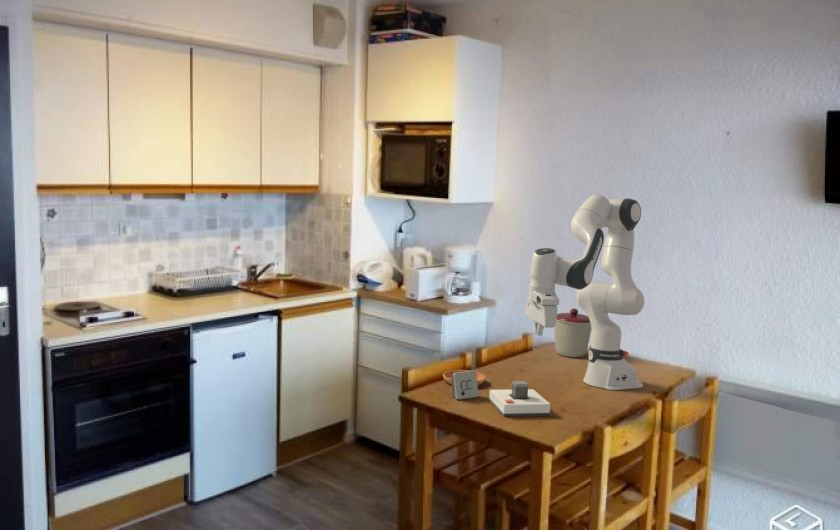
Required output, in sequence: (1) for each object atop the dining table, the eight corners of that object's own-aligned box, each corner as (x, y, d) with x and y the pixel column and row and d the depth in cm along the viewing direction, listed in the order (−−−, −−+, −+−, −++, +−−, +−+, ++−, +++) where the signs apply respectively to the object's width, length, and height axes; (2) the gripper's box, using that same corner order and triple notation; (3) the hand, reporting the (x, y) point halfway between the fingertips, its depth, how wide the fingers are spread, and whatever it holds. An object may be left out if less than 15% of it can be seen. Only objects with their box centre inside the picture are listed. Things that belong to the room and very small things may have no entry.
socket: (532, 400, 258) (533, 387, 257) (549, 415, 242) (550, 402, 242) (488, 400, 255) (489, 388, 254) (503, 416, 239) (504, 403, 238)
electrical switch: (456, 400, 253) (457, 374, 253) (448, 397, 257) (448, 371, 257) (478, 397, 258) (479, 371, 257) (470, 394, 262) (470, 369, 262)
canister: (567, 347, 339) (571, 303, 336) (599, 357, 325) (603, 310, 322) (541, 352, 328) (545, 306, 325) (573, 362, 314) (577, 314, 311)
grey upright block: (522, 403, 251) (524, 380, 250) (526, 406, 247) (528, 384, 246) (510, 403, 250) (512, 380, 249) (514, 407, 246) (516, 384, 245)
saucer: (435, 383, 272) (435, 375, 272) (454, 374, 286) (454, 366, 286) (474, 392, 264) (474, 384, 264) (491, 382, 278) (492, 374, 278)
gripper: (522, 290, 261) (519, 327, 263) (543, 300, 242) (540, 341, 243) (539, 290, 263) (536, 327, 265) (561, 301, 243) (558, 341, 245)
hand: (538, 334), depth 254 cm, fingers closed
